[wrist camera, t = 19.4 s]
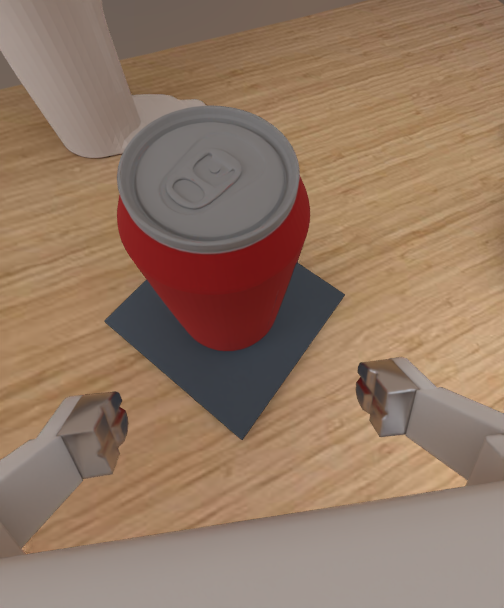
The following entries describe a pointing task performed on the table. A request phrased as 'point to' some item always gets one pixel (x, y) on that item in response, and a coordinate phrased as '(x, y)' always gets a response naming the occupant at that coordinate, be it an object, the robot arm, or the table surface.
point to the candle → (77, 74)
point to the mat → (228, 364)
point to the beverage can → (214, 219)
